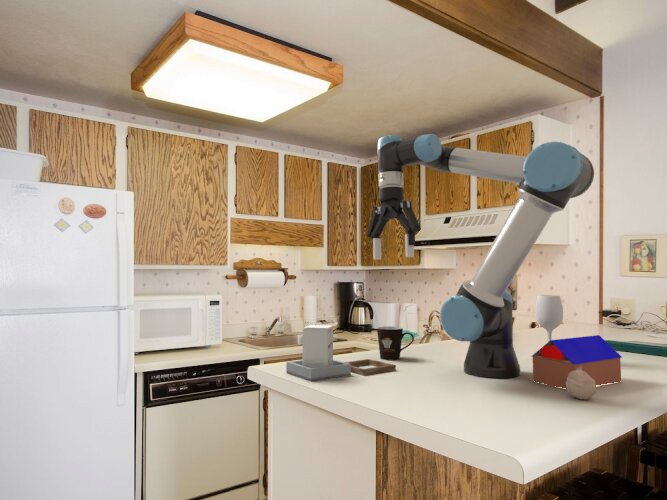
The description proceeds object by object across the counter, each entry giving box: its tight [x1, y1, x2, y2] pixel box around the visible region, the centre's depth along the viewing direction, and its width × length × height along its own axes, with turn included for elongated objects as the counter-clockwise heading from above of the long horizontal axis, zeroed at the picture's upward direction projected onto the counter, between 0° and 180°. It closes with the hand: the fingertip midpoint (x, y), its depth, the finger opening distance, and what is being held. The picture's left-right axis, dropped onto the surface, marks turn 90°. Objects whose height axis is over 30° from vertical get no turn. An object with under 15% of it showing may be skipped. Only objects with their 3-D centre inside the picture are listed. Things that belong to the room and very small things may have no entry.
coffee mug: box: [376, 325, 415, 361], centre depth 155 cm, size 12×9×10 cm
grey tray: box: [285, 359, 352, 382], centre depth 132 cm, size 13×13×3 cm
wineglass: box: [534, 294, 564, 343], centre depth 151 cm, size 9×9×21 cm
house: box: [530, 334, 623, 389], centre depth 122 cm, size 12×20×12 cm, turn 119°
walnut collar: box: [344, 358, 397, 376], centre depth 138 cm, size 12×12×2 cm
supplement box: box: [301, 324, 334, 368], centre depth 132 cm, size 7×7×13 cm
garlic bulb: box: [565, 365, 597, 400], centre depth 106 cm, size 7×6×8 cm
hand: (393, 258), depth 141 cm, fingers open, 13 cm apart
